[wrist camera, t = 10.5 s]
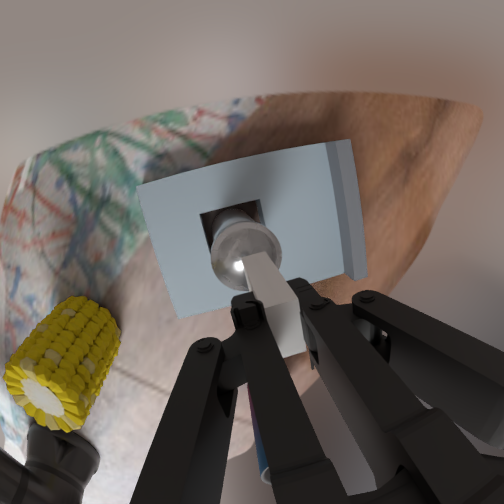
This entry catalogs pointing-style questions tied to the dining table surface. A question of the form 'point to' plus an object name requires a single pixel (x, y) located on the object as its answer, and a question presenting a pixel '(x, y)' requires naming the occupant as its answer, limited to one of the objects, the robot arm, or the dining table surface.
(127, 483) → the dining table surface
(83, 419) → the food
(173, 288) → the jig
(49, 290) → the dining table surface
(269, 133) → the dining table surface
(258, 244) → the silver metal cylinder
